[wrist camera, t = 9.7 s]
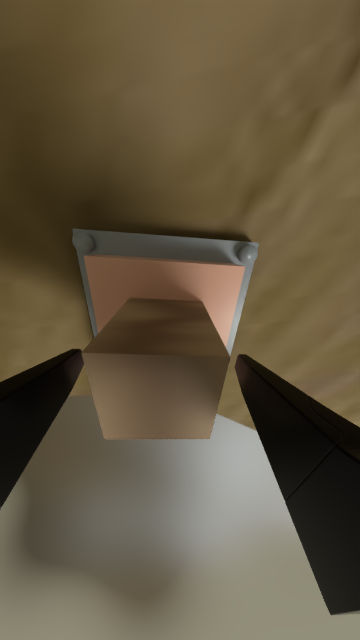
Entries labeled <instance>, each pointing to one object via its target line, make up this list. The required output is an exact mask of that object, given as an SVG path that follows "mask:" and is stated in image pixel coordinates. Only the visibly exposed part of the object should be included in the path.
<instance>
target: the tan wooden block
mask: <svg viewBox="0 0 360 640" xmlns="http://www.w3.org/2000/svg"><path fill="white" fill-rule="evenodd" d="M81 354H82V357H83V361H84V365H85V369H86V372H87V376H88V380H89V384H90V387H91V391H92V395H93V398H94V402H95V406H96V410H97V413H98V417H99V421H100V424H101V428H102V432H103V436H104V439H210V436H211V432H212V428H213V424H214V420H215V416H216V412H217V408H218V404H219V400H220V396H221V392H222V388H223V384H224V380H225V377H226V373H227V369H228V365H229V361H230V355H229V353H228V351H227V349H226V347H225V345H224V343H223V341H222V339H221V337H220V335H219V333H218V331H217V330H216V328H215V326H214V324H213V322H212V320H211V318H210V316H209V314H208V312H207V310H206V308H205V306H204V304H203V302H202V301H186V300H165V299H143V298H129V299H128V300H127V301H126V302H125V304H124V305H123V306H122V307H121V308H120V309H119V310H118V312H117V313H116V314H115V315H114V316H113V317H112V318H111V320H110V321H109V322H108V323H107V324H106V325H105V326H104V328H103V329H102V330H101V331H100V332H99V333H98V334H97V336H96V337H95V338H94V339H93V340H92V341H91V342H90V344H89V345H88V346H87V347H86V348H85V349H84V350H83V352H82V353H81Z"/></svg>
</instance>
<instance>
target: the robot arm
mask: <svg viewBox="0 0 360 640" xmlns="http://www.w3.org/2000/svg"><path fill="white" fill-rule="evenodd" d="M81 353H82V351H81V350H80V349H71V350H69V351H67V352H65V353H62V354H60V355H58V356H56V357H54V358H52V359H49V360H47V361H45V362H43V363H41V364H39V365H36V366H34V367H32V368H30V369H28V370H26V371H23V372H21V373H19V374H17V375H15V376H13V377H10V378H8V379H6V380H4V381H2V382H0V509H1V507H2V506H3V504H4V502H5V501H6V499H7V497H8V496H9V494H10V492H11V491H12V489H13V487H14V486H15V484H16V482H17V481H18V479H19V477H20V476H21V474H22V472H23V471H24V469H25V467H26V466H27V464H28V462H29V461H30V459H31V457H32V456H33V454H34V452H35V451H36V449H37V447H38V446H39V444H40V442H41V441H42V439H43V437H44V436H45V434H46V432H47V431H48V429H49V427H50V426H51V424H52V422H53V421H54V419H55V417H56V416H57V414H58V412H59V411H60V409H61V407H62V406H63V404H64V402H65V401H66V399H67V397H68V396H69V394H70V392H71V390H72V389H73V387H74V384H75V382H76V380H77V378H78V376H79V374H80V372H81V370H82V367H83V365H84V361H83V357H82V354H81ZM235 370H236V373H237V377H238V381H239V384H240V388H241V391H242V394H243V397H244V399H245V402H246V404H247V407H248V410H249V412H250V415H251V417H252V420H253V422H254V425H255V427H256V430H257V432H258V435H259V437H260V440H261V442H262V445H263V447H264V450H265V452H266V455H267V457H268V460H269V462H270V465H271V467H272V470H273V472H274V475H275V477H276V480H277V483H278V485H279V488H280V490H281V493H282V495H283V498H284V500H285V503H286V505H287V508H288V510H289V513H290V516H291V518H292V521H293V523H294V526H295V528H296V531H297V533H298V536H299V538H300V541H301V543H302V546H303V548H304V551H305V553H306V556H307V558H308V561H309V563H310V566H311V568H312V571H313V573H314V576H315V579H316V581H317V583H318V586H319V588H320V591H321V594H322V596H323V599H324V601H325V603H326V606H327V608H328V610H329V612H330V614H331V615H344V614H356V613H357V614H358V613H360V427H358V426H357V425H355V424H353V423H352V422H350V421H348V420H347V419H345V418H343V417H342V416H340V415H338V414H337V413H335V412H333V411H332V410H330V409H328V408H327V407H325V406H324V405H322V404H321V403H319V402H318V401H316V400H314V399H313V398H311V397H310V396H307V394H305V393H304V392H302V391H301V390H299V389H298V388H296V387H295V386H293V385H292V384H290V383H289V382H287V381H286V380H284V379H282V378H281V377H279V376H278V375H276V374H275V373H273V372H272V371H270V370H269V369H267V368H266V367H264V366H263V365H261V364H260V363H258V362H257V361H255V360H253V359H252V358H250V357H249V356H247V355H245V354H239V355H238V357H237V360H236V364H235Z"/></svg>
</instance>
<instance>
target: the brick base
mask: <svg viewBox="0 0 360 640" xmlns="http://www.w3.org/2000/svg"><path fill="white" fill-rule="evenodd" d="M72 231H73V237H72V242H73V245H74V247H75V248H76V251H77V256H78V261H79V266H80V270H81V275H82V280H83V285H84V290H85V295H86V300H87V305H88V309H89V314H90V319H91V324H92V329H93V334H94V338H95V337H96V336H97V334H98V333H99V332H100V331H101V330H102V329H103V328H104V326H105V325H106V324H107V323H108V322H109V321H110V320H111V318H112V317H113V316H114V315H115V314H116V313H117V312H118V310H119V309H120V308H121V307H122V306H123V305H124V304H125V302H126V301H127V300H128V299H129V298H143V299H165V300H186V301H202V302H203V304H204V306H205V308H206V310H207V312H208V314H209V316H210V318H211V320H212V322H213V324H214V326H215V328H216V330H217V331H218V333H219V335H220V337H221V339H222V341H223V343H224V345H225V347H226V349H227V351H228V353H229V355H231V351H232V347H233V343H234V339H235V335H236V331H237V327H238V323H239V320H240V316H241V312H242V308H243V304H244V300H245V296H246V292H247V288H248V285H249V281H250V277H251V273H252V269H253V265H254V261H255V259H256V257H257V255H258V250H257V249H258V246H259V243H255V242H242V241H229V240H216V239H203V238H190V237H177V236H164V235H150V234H137V233H124V232H111V231H98V230H85V229H72Z"/></svg>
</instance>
